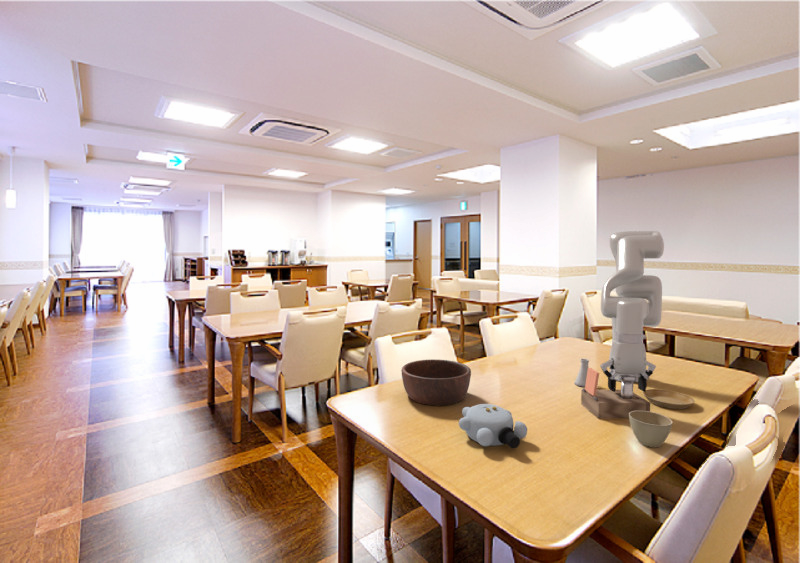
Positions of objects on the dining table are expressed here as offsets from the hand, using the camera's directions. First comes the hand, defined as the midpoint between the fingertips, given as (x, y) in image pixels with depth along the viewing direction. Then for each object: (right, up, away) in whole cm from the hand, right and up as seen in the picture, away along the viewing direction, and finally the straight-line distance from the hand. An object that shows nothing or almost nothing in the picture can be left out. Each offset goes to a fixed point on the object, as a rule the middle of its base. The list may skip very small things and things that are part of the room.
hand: (626, 390), depth 130 cm
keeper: (-12, +3, 0) cm, 12 cm away
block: (-4, -7, +1) cm, 8 cm away
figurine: (-48, -9, -18) cm, 52 cm away
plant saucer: (+18, -7, +7) cm, 21 cm away
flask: (-2, -5, +26) cm, 27 cm away
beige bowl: (-6, -9, -21) cm, 24 cm away
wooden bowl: (-61, -6, +15) cm, 63 cm away
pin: (0, -7, 0) cm, 7 cm away
